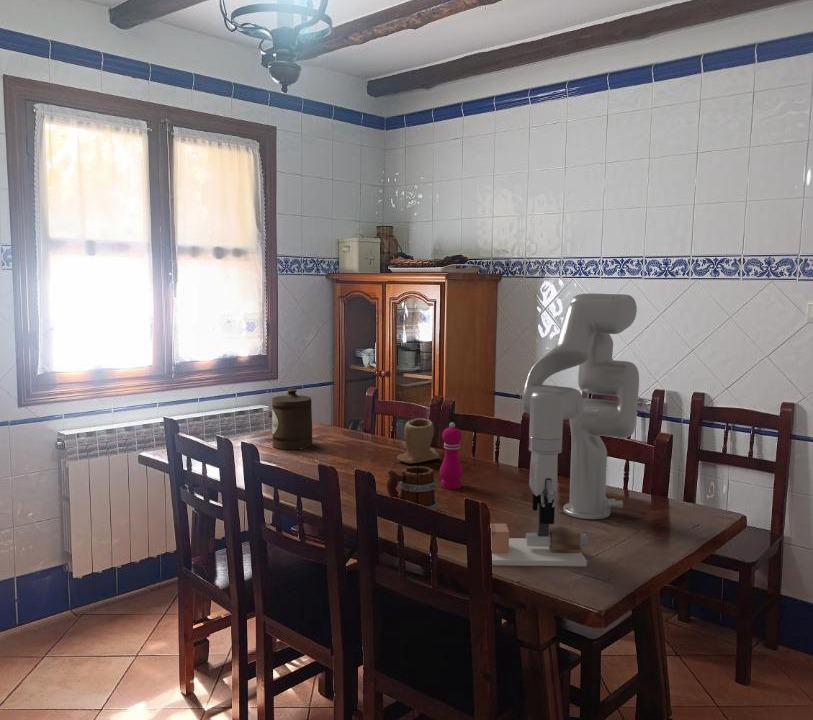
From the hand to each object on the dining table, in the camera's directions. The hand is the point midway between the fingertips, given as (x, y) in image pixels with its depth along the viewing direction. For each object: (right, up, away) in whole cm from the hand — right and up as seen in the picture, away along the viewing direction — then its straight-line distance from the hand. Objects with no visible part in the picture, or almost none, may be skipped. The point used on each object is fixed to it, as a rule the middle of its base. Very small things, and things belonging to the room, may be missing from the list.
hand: (542, 516), depth 173 cm
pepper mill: (-18, -3, +56) cm, 59 cm away
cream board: (-2, -9, +1) cm, 9 cm away
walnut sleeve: (+5, -8, +1) cm, 9 cm away
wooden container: (-75, +4, +108) cm, 131 cm away
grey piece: (+3, -7, +1) cm, 8 cm away
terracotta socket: (-10, -8, +1) cm, 13 cm away
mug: (-30, -6, +30) cm, 43 cm away
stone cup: (-27, +1, +86) cm, 90 cm away
